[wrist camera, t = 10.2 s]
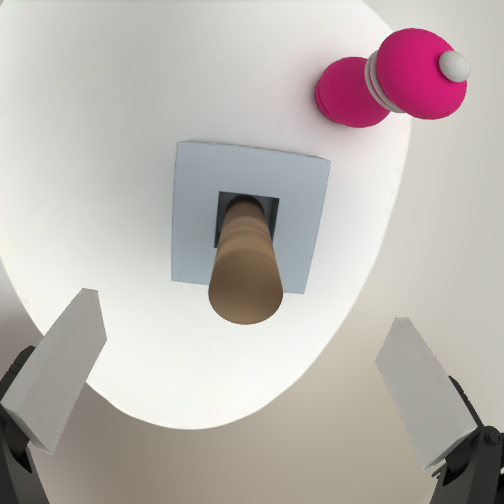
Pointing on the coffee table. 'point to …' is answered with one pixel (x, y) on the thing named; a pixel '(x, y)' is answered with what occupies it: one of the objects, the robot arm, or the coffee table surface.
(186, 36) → the coffee table surface
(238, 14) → the coffee table surface
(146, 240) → the coffee table surface
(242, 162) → the bore block
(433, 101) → the pepper mill
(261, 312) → the dowel
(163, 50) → the coffee table surface
